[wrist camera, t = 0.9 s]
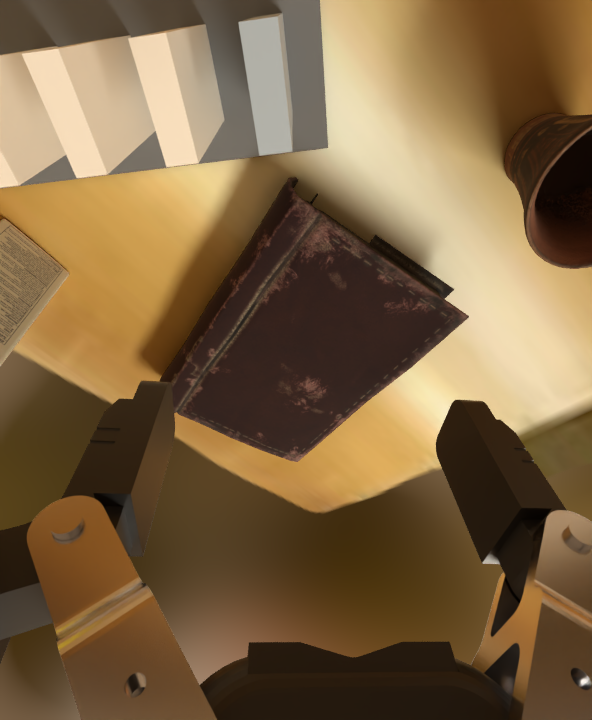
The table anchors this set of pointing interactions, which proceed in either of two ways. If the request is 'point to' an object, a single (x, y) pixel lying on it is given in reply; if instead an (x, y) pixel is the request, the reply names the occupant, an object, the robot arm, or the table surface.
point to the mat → (221, 15)
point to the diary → (306, 331)
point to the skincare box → (23, 284)
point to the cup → (555, 186)
